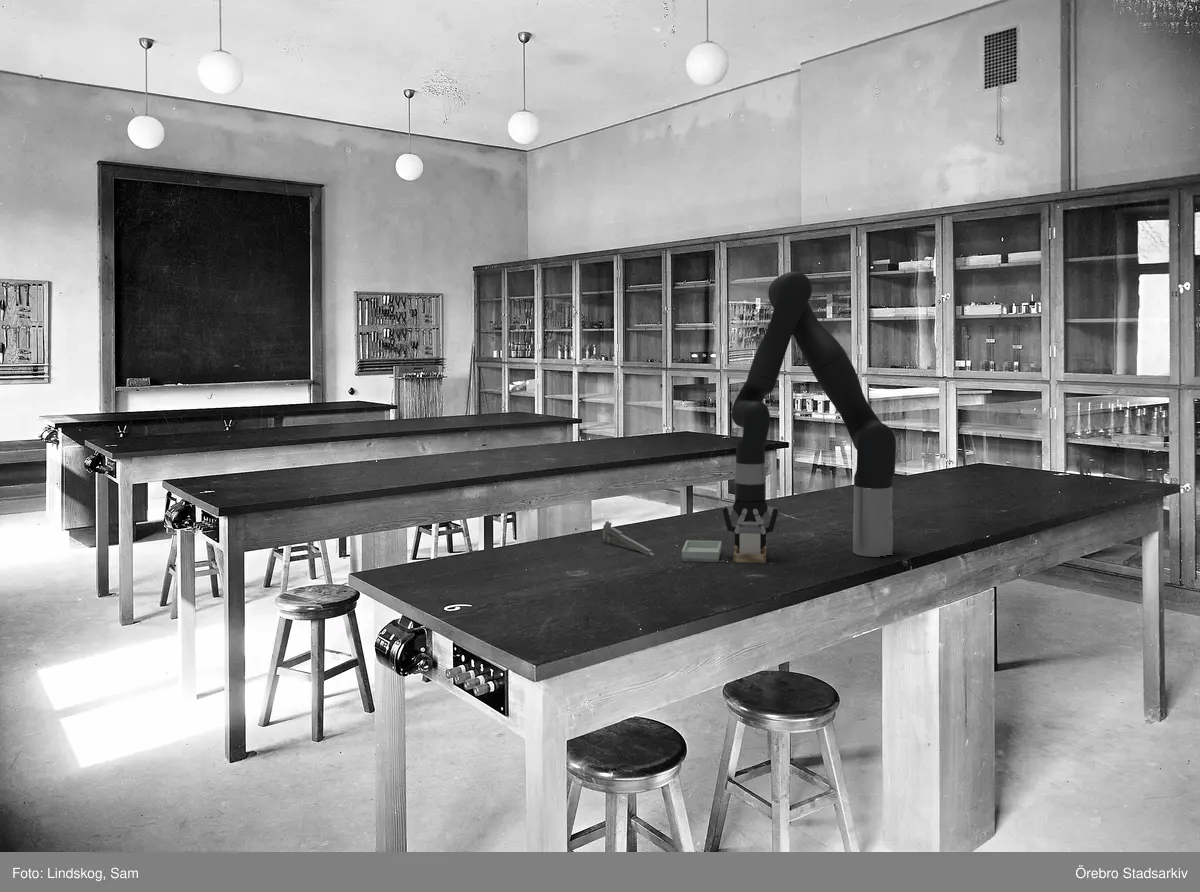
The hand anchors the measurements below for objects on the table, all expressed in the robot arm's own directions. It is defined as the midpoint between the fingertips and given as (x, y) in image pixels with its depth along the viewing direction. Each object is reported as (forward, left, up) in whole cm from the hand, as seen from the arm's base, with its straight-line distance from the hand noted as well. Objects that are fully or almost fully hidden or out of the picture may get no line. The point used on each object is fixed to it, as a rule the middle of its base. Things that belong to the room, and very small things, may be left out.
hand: (750, 547), depth 228 cm
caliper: (+32, -5, -3) cm, 32 cm away
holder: (0, 0, -2) cm, 2 cm away
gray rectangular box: (0, 0, -2) cm, 2 cm away
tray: (+12, 0, -2) cm, 12 cm away
